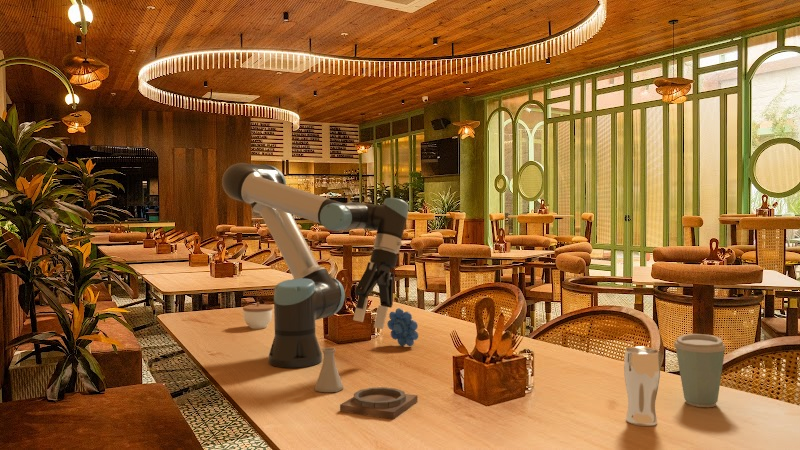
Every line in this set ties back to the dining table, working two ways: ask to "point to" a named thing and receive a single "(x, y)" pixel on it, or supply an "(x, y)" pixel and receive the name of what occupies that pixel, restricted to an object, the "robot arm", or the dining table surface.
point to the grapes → (402, 327)
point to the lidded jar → (257, 315)
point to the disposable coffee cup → (700, 367)
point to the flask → (329, 374)
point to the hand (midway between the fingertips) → (368, 324)
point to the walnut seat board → (379, 402)
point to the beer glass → (641, 384)
